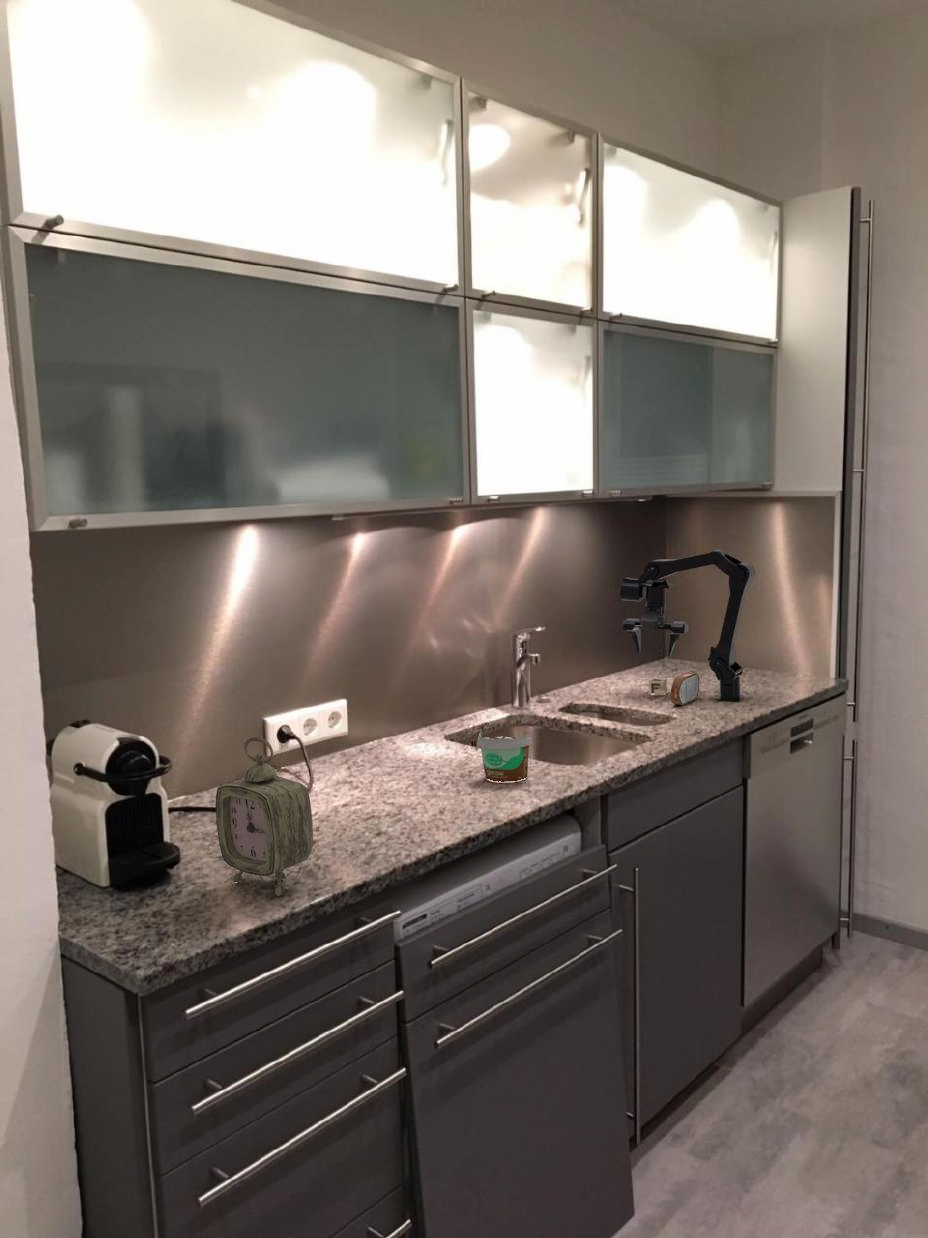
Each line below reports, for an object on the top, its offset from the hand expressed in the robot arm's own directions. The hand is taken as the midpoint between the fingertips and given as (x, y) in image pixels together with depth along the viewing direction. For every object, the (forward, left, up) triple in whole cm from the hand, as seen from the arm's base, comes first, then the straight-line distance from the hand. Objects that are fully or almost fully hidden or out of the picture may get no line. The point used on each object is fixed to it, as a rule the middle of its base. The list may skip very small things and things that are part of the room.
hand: (654, 654), depth 301 cm
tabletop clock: (+163, -19, -13) cm, 164 cm away
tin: (+9, +11, -13) cm, 19 cm away
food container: (+97, -7, -13) cm, 98 cm away
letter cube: (-1, 0, -12) cm, 13 cm away
